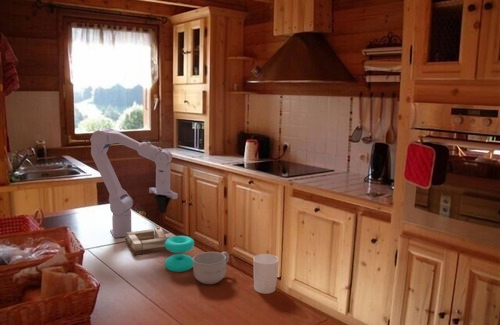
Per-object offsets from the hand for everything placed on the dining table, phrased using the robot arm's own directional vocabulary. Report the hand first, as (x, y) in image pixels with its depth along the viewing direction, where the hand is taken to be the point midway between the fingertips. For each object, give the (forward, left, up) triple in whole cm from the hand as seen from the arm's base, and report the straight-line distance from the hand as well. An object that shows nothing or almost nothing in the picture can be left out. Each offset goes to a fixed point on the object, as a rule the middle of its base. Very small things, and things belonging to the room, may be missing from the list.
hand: (162, 212), depth 172 cm
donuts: (+31, -3, -11) cm, 32 cm away
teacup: (+44, +4, -11) cm, 45 cm away
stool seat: (+9, -8, -10) cm, 16 cm away
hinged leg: (+7, -3, -8) cm, 11 cm away
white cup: (+57, +16, -11) cm, 60 cm away
